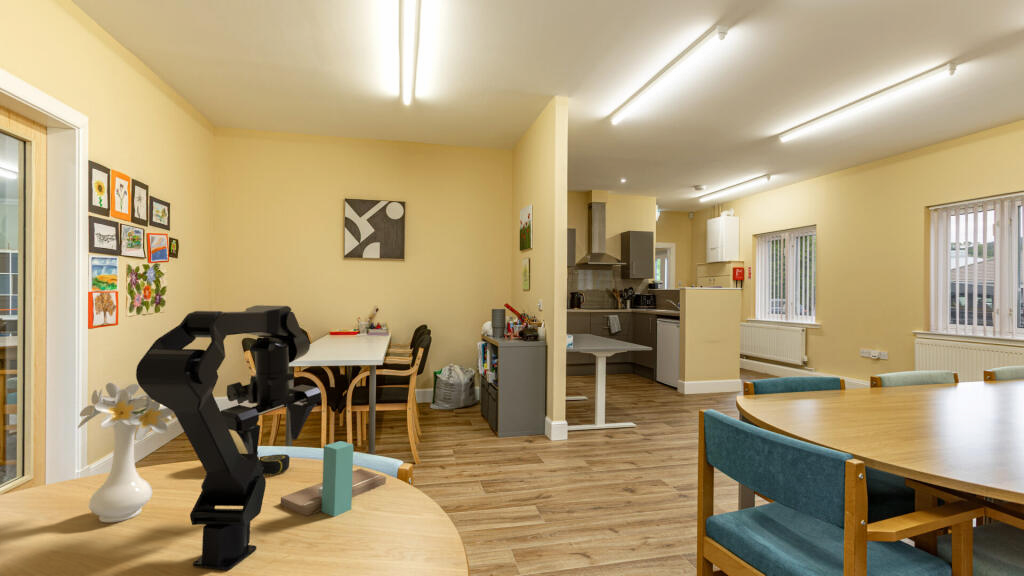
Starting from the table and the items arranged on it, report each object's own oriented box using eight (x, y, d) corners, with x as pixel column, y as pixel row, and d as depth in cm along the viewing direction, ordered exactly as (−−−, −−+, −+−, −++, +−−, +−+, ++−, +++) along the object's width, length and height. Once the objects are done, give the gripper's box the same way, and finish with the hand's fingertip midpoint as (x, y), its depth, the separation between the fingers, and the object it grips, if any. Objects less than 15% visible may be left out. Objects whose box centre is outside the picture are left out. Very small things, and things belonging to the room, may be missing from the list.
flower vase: (126, 538, 79) (133, 394, 80) (49, 524, 84) (57, 387, 85) (194, 506, 92) (200, 382, 93) (124, 495, 96) (130, 377, 97)
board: (306, 516, 89) (306, 508, 89) (280, 504, 94) (280, 496, 94) (385, 483, 106) (385, 476, 106) (360, 474, 110) (360, 468, 111)
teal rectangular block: (334, 516, 89) (336, 449, 89) (312, 507, 93) (314, 443, 93) (351, 509, 92) (353, 444, 93) (329, 500, 96) (331, 438, 96)
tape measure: (289, 466, 116) (290, 451, 116) (288, 475, 110) (288, 459, 110) (258, 469, 113) (259, 454, 113) (255, 479, 107) (256, 463, 107)
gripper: (284, 355, 99) (285, 424, 101) (195, 376, 82) (199, 459, 84) (322, 361, 95) (323, 433, 96) (237, 385, 78) (240, 472, 79)
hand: (274, 448), depth 89 cm, fingers open, 9 cm apart
